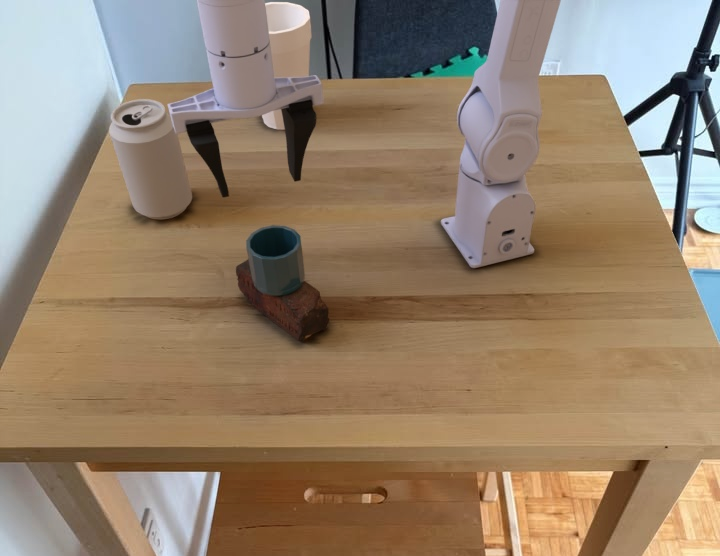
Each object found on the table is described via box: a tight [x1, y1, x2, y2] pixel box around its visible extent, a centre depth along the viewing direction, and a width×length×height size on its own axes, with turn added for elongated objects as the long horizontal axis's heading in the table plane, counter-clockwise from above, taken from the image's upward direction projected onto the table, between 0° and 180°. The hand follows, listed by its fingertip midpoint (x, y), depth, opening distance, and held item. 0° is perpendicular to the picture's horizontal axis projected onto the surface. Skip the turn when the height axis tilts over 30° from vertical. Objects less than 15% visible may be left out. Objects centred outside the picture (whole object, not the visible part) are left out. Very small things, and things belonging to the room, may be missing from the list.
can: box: [108, 98, 193, 220], centre depth 85 cm, size 8×8×12 cm
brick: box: [235, 259, 330, 342], centre depth 76 cm, size 11×4×5 cm, turn 44°
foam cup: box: [261, 1, 313, 131], centre depth 96 cm, size 10×9×13 cm
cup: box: [245, 224, 306, 296], centre depth 72 cm, size 5×6×4 cm
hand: (259, 183), depth 74 cm, fingers open, 7 cm apart
